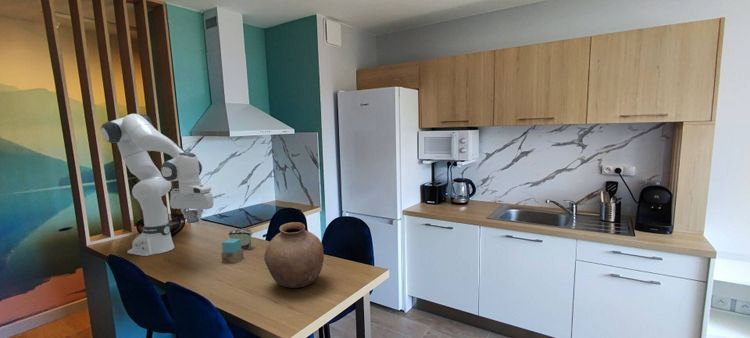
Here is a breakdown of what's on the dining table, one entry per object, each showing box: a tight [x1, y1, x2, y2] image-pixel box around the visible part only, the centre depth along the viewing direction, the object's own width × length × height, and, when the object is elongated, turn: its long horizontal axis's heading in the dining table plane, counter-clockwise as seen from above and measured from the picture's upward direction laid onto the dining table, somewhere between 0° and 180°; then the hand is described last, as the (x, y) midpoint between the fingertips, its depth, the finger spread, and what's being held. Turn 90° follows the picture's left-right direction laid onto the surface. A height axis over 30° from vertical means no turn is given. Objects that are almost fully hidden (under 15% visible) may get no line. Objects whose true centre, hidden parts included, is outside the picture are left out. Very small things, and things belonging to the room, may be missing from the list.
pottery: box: [263, 221, 325, 289], centre depth 143 cm, size 23×23×25 cm
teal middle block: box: [221, 238, 241, 253], centre depth 172 cm, size 6×6×5 cm
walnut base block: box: [220, 249, 244, 265], centre depth 173 cm, size 7×7×5 cm
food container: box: [228, 228, 253, 251], centre depth 190 cm, size 12×6×10 cm, turn 84°
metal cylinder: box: [186, 209, 200, 224], centre depth 165 cm, size 5×5×5 cm
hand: (192, 218), depth 165 cm, fingers closed on metal cylinder, 5 cm apart
